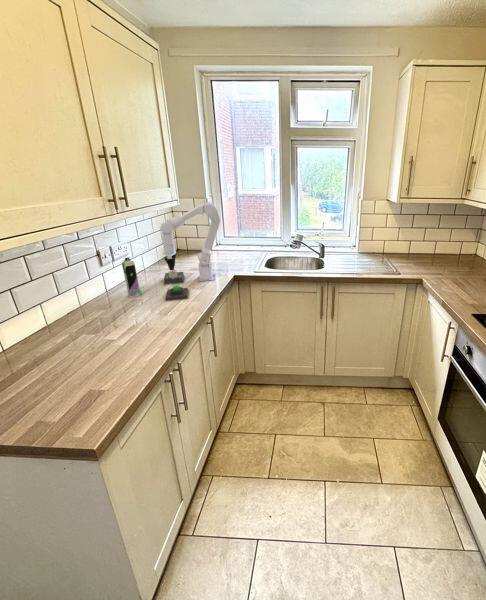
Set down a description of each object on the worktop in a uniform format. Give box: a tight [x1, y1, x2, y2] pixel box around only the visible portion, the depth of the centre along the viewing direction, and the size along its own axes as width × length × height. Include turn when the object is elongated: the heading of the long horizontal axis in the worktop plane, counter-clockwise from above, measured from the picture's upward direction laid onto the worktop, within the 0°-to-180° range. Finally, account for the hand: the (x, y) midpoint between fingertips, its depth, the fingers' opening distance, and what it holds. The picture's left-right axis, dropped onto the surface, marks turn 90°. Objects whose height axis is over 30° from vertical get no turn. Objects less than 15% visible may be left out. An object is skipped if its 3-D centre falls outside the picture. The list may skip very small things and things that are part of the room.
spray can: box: [121, 256, 142, 298], centre depth 158 cm, size 6×6×20 cm
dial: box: [167, 269, 178, 278], centre depth 180 cm, size 4×4×4 cm
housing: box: [165, 286, 189, 301], centre depth 162 cm, size 12×10×4 cm
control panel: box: [163, 271, 185, 285], centre depth 184 cm, size 13×10×3 cm
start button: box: [171, 285, 181, 291], centre depth 161 cm, size 4×4×2 cm
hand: (172, 268), depth 179 cm, fingers open, 7 cm apart
